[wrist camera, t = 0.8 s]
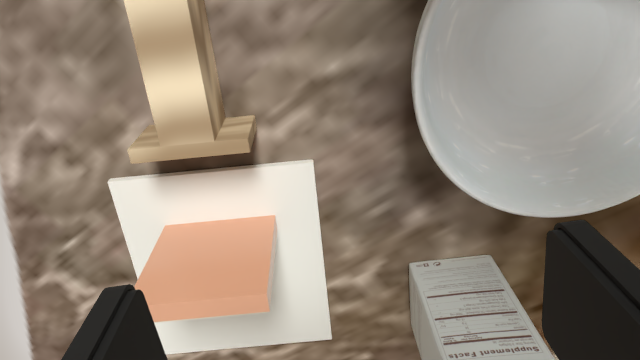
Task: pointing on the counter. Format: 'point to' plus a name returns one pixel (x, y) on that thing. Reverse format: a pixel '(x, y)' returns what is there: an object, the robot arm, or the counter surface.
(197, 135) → the tall beige plank
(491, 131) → the serving bowl
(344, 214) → the counter surface
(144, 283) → the tile
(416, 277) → the supplement box
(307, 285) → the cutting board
